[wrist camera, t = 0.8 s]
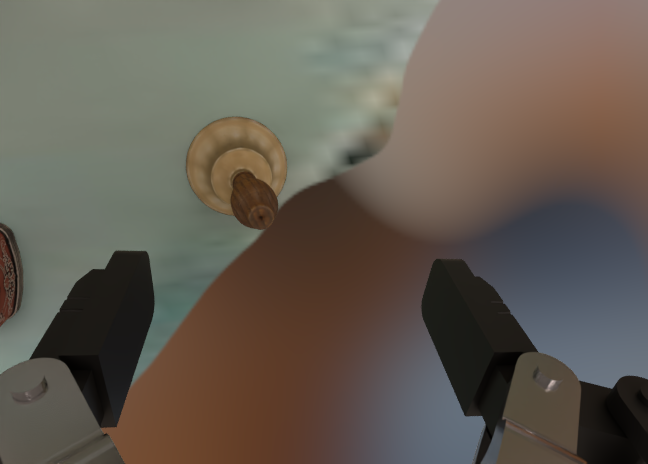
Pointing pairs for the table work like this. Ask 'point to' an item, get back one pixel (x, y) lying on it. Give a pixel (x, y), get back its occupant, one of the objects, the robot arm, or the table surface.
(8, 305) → the lighter
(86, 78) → the table surface
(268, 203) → the hand bell
